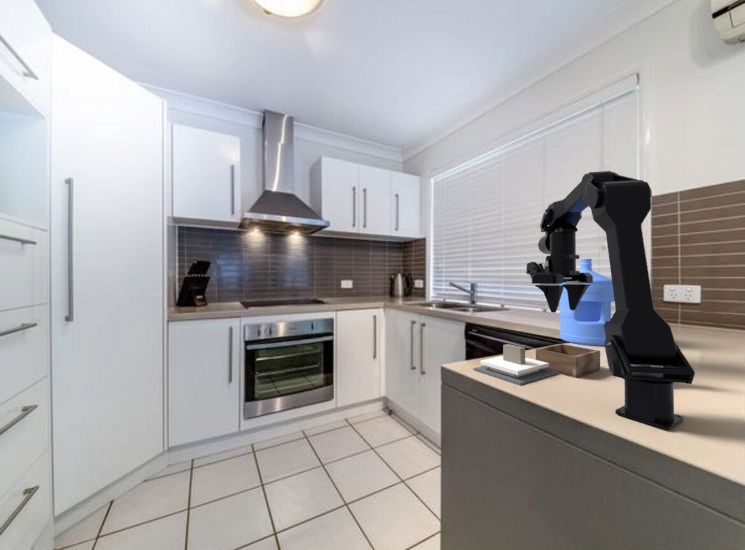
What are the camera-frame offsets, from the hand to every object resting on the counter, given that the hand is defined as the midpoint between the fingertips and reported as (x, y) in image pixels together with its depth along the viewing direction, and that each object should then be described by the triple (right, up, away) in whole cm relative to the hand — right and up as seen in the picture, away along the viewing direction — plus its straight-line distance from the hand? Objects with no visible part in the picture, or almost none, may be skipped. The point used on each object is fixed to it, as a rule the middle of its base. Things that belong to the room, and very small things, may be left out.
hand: (563, 311), depth 80 cm
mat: (-17, -13, -9) cm, 23 cm away
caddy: (-3, -13, -7) cm, 15 cm away
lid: (-17, -13, -9) cm, 23 cm away
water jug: (+23, -13, +24) cm, 36 cm away
